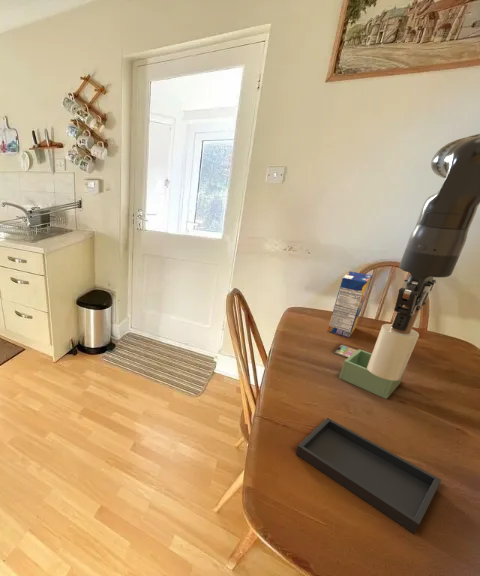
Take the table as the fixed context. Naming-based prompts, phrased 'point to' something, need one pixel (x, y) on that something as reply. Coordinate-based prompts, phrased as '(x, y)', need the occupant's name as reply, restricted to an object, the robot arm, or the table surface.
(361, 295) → the beverage box
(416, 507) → the tray
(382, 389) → the bin
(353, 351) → the smartphone
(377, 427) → the table surface
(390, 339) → the bottle
